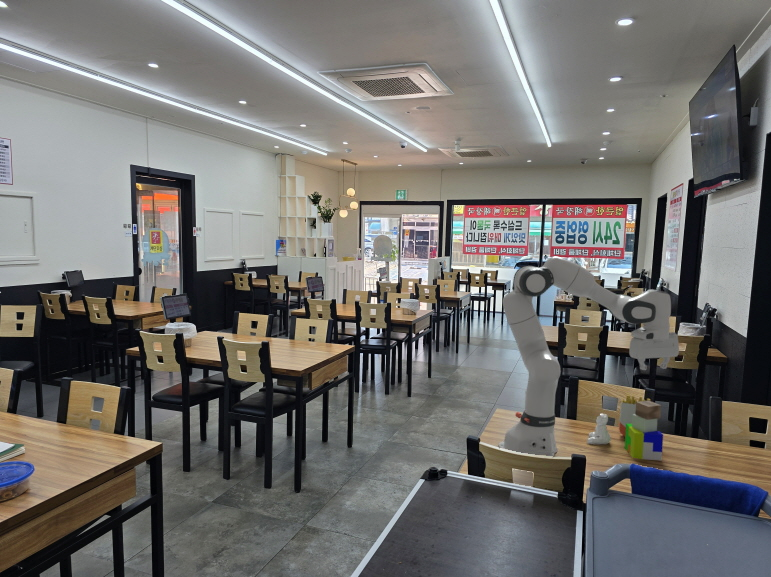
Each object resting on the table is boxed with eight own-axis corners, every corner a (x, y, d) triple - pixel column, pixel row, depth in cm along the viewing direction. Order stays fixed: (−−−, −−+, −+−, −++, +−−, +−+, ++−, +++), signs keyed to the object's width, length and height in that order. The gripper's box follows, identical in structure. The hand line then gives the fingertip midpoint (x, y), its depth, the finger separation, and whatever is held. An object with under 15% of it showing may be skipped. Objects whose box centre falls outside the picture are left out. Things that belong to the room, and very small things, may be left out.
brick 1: (647, 419, 188) (648, 406, 188) (635, 414, 194) (636, 401, 193) (660, 418, 190) (661, 405, 189) (647, 413, 195) (648, 400, 195)
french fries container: (618, 433, 214) (621, 392, 212) (647, 437, 210) (649, 395, 208) (619, 437, 209) (621, 395, 208) (648, 441, 205) (651, 398, 204)
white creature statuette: (589, 436, 211) (590, 408, 210) (611, 439, 207) (613, 411, 206) (586, 443, 202) (588, 414, 201) (610, 448, 198) (611, 418, 197)
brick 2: (644, 432, 188) (645, 419, 188) (631, 427, 194) (632, 414, 194) (656, 430, 190) (657, 418, 190) (644, 425, 196) (644, 412, 196)
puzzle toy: (661, 460, 187) (663, 434, 186) (632, 458, 189) (634, 432, 188) (651, 449, 197) (653, 425, 196) (624, 448, 199) (626, 423, 198)
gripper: (670, 330, 195) (668, 365, 196) (627, 332, 189) (625, 368, 190) (684, 333, 189) (682, 369, 190) (640, 335, 183) (638, 372, 184)
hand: (653, 369), depth 190 cm, fingers open, 8 cm apart
